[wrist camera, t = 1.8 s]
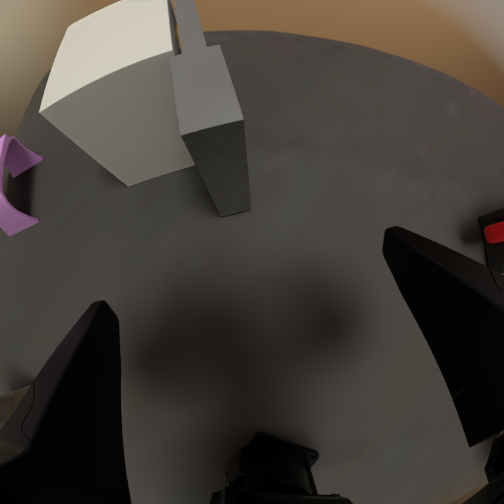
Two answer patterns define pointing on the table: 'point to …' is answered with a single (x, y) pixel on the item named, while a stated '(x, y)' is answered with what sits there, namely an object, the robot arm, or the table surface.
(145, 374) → the table surface
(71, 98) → the white box
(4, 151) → the toy chair
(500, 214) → the game console
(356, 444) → the table surface
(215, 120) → the silver metal panel
